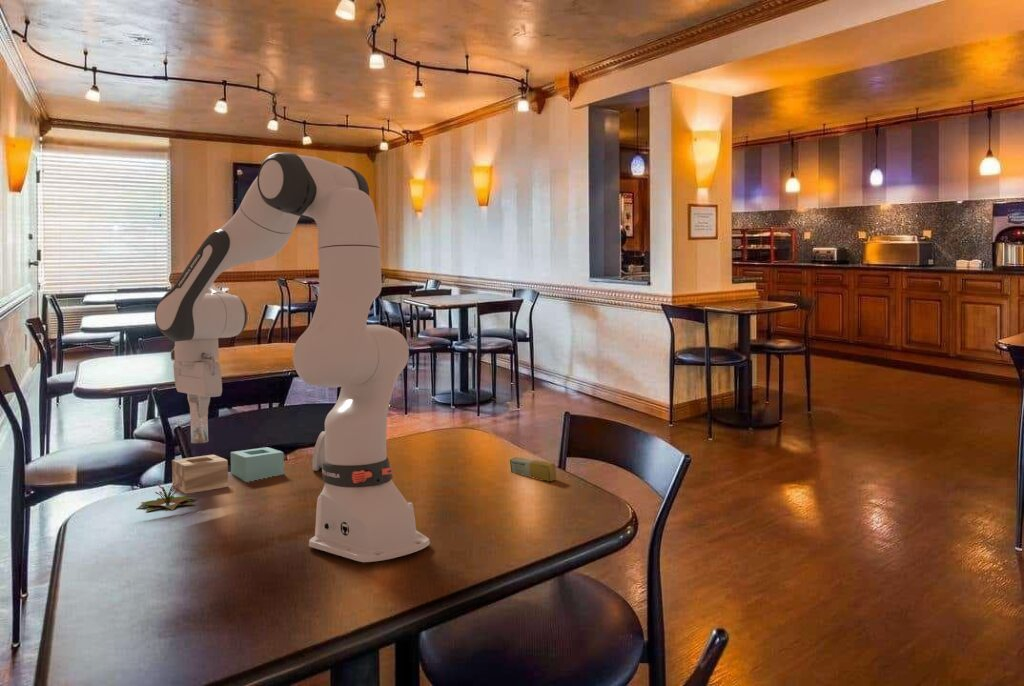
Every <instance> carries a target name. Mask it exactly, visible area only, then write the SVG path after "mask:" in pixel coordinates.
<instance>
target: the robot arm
mask: <svg viewBox="0 0 1024 686" xmlns="http://www.w3.org/2000/svg"><path fill="white" fill-rule="evenodd" d="M302 216H305V217H309V218H310V219H311V218H312V219H313V220H314V222H315V223H316V226H317V244H318V247H317V249H318V250H317V251H318V253H317V254H318V277H319V278H318V283H319V284H318V296H317V302H316V306H315V310H314V313H313V315H312V319H311V320H310V323H309V324H308V326H307V328H306V329H305V330H304V332H303V333H302V334H301V335H300V336H298V339H297V340H296V342H295V344H294V347H293V351H292V362H293V363H292V364H293V367H294V370H295V371H296V373H297V375H298V376H299V378H300V379H301V380H302V381H303V382H304V383H307V384H308V385H311V386H316V387H321V388H329V389H330V388H332V389H334V388H340V391H339V396H338V399H336V403H335V405H334V406H333V407H332V409H330V411H329V412H328V413H327V415H326V416H325V419H324V431H325V461H324V462H323V468H321V471H322V472H321V474H322V481H323V482H324V485H323V488H322V491H321V492H320V494H319V495H318V497H317V498H316V499H317V500H316V511H315V513H316V514H315V530H314V536H313V537H311V538H310V539H309V540H308V547H310V548H313V549H316V550H318V551H319V550H320V551H324V552H326V553H329V554H333V555H335V556H341V557H343V558H346V559H349V560H353V561H356V562H361V563H371V562H372V563H373V562H379V561H387V560H391V559H395V558H398V557H403V556H407V555H411V554H412V553H415V552H418V551H421V550H423V549H425V548H426V547H428V546H429V545H430V544H431V543H430V539H429V537H427V536H426V535H425V534H423V533H421V532H419V531H418V530H417V527H416V525H417V524H416V518H415V508H414V504H413V502H409V501H407V499H406V498H405V497H404V496H403V494H402V493H401V491H400V490H399V488H398V487H397V486H396V485H395V483H394V481H393V480H392V479H393V478H394V477H393V474H395V472H394V471H392V470H394V469H395V467H393V466H392V464H391V463H390V460H389V457H388V456H387V423H388V421H387V420H388V412H389V407H390V402H391V399H392V395H393V391H394V388H395V385H396V383H397V380H398V378H399V376H400V374H401V373H402V372H403V370H404V369H405V368H406V366H407V364H408V361H409V357H410V350H409V345H408V342H407V339H406V338H405V336H404V335H403V334H402V333H401V332H399V331H398V330H396V329H393V328H391V327H388V326H385V325H381V324H367V321H368V317H369V314H370V313H369V312H370V309H371V306H372V305H373V302H374V301H375V300H376V299H377V298H378V297H379V296H380V294H381V291H382V287H383V283H382V282H383V281H382V261H381V260H382V259H381V258H382V257H381V242H380V239H381V238H380V231H379V226H378V219H377V215H376V209H375V205H374V202H373V200H372V198H371V197H370V188H369V184H368V182H367V179H366V177H364V175H362V174H361V173H360V172H359V171H357V170H355V169H353V168H352V167H349V166H346V165H340V164H338V163H335V162H331V161H328V160H326V159H323V158H320V157H315V156H309V155H304V154H303V155H301V154H296V153H294V152H275V153H272V154H270V155H268V156H267V157H265V159H264V160H263V161H262V163H261V165H260V168H259V170H258V172H257V176H256V178H255V179H254V180H253V181H252V183H251V184H250V186H249V188H248V189H247V191H246V192H245V195H244V197H243V198H242V201H241V203H240V205H239V207H238V209H236V211H235V213H234V214H233V216H232V217H231V218H230V219H229V220H228V221H227V222H226V223H225V224H223V225H222V226H221V227H220V228H218V229H217V230H215V231H213V232H212V233H210V234H209V235H207V237H206V238H205V239H204V241H203V242H202V243H201V244H200V246H199V248H198V249H197V251H195V254H193V256H192V258H191V259H190V261H189V263H188V264H186V266H185V268H184V270H183V271H182V273H181V274H180V276H179V278H177V280H176V282H175V283H174V285H173V286H172V287H171V288H170V289H169V290H168V291H167V292H166V293H165V294H163V296H162V297H161V299H159V301H158V303H157V305H156V306H155V307H156V308H155V310H154V321H155V325H156V327H157V329H158V330H159V332H161V334H163V335H164V336H165V337H166V338H167V339H169V340H170V341H172V342H174V347H173V349H172V350H171V351H170V360H171V361H173V365H172V367H173V377H174V385H175V388H176V391H177V393H183V394H186V395H187V397H186V399H187V401H188V404H189V405H188V406H190V402H194V401H199V407H198V408H197V411H198V415H199V416H207V415H209V406H210V403H211V398H216V397H221V396H222V393H223V380H222V370H221V366H220V364H219V363H220V362H218V360H219V359H220V355H219V353H220V351H219V339H227V338H233V337H238V336H239V335H241V334H242V333H243V331H244V330H245V328H246V327H247V324H248V317H249V316H248V315H249V314H248V309H247V306H246V303H245V302H244V301H243V300H242V298H241V297H239V296H238V295H234V294H231V293H229V292H226V291H223V290H221V289H219V288H218V287H217V286H216V284H215V283H214V282H215V281H216V280H217V278H218V277H219V276H220V275H221V274H222V273H223V272H226V271H227V270H229V269H231V268H233V267H236V266H237V267H238V266H240V265H243V264H247V263H252V262H257V261H265V260H266V259H269V258H272V257H274V256H276V255H278V254H279V253H280V252H281V251H282V250H283V249H284V247H286V245H287V243H288V242H289V240H290V238H291V236H292V234H293V232H294V230H295V228H296V226H297V224H298V221H299V220H300V218H301V217H302Z"/></svg>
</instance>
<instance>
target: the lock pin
mask: <svg viewBox="0 0 1024 686" xmlns="http://www.w3.org/2000/svg"><path fill="white" fill-rule="evenodd" d="M198 407H199V401H194V402H190V405H189V413H190V414H189V416H190V443H191V444H204V443H208V442H209V421H208V420H209V419H208V417H209V416H208V415H209V414H208V415H207V416H199V415H198V411H197V408H198Z"/></svg>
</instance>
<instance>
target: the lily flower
mask: <svg viewBox="0 0 1024 686" xmlns="http://www.w3.org/2000/svg"><path fill="white" fill-rule="evenodd" d="M174 483H175V482H174ZM174 483H173V482H172V485H171V487H170V489H169V486H167V489H165V487H164V486H161V485H160V484H157V486H158V487H159V488H160V489H161V490H162V491H159V492H157V491H155V492H154V493H155V494H157V495H158V496H160V497H157V498H156V499H155V500H154V499H152V500H148V501H147V500H146V501H143V502H140V503H141V505H139V507H136V508H135V509H136V510H137V509H140V508H145V507H146V511H145V512H146V513H147V512H150V511H155V510H157V509H158V508H157V506H163V509H164V508H166V509H170V510H171V511H173V510H175V508H176V507H177V506H190V505H196V503H194V502H193V501H194V500H197V498H195V497H192V496H189V495H184V496H183V495H182V496H174V495H175V494H176V493H178V492H179V490H178V489H177V490H176V491H175V489H176V488H175V487H176V486H177V485H179V484H177V485H176V486H175V485H174ZM174 486H175V487H174ZM168 489H169V490H168ZM162 492H163V493H162ZM164 504H165V505H164Z"/></svg>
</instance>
